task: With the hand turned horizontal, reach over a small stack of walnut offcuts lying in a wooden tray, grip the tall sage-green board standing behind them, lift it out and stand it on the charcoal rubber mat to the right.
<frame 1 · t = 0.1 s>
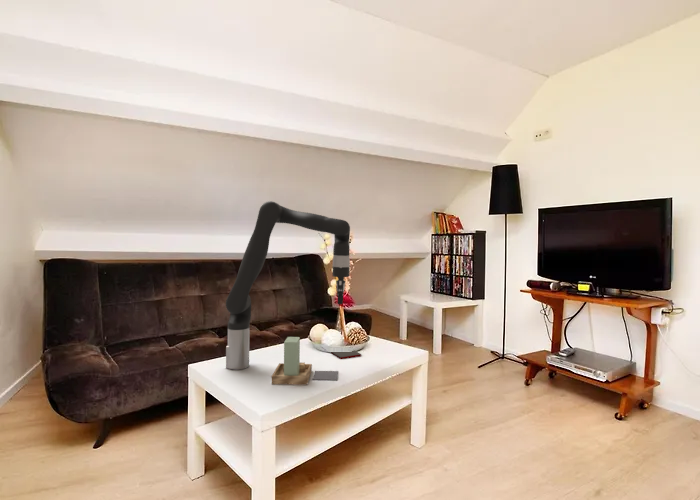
hand: (340, 302, 168), 29 cm above the table, tool pointing down, fingers open, 8 cm apart
offcut lower: (294, 370, 161), point 1 cm above the table, touching offcut upper, wooden tray
smartphone: (340, 352, 195), on the table
mat: (325, 375, 159), on the table
offcut upper: (296, 367, 161), point 3 cm above the table, touching offcut lower
wooden tray: (292, 377, 157), on the table
tall board: (291, 376, 155), point 1 cm above the table, touching wooden tray
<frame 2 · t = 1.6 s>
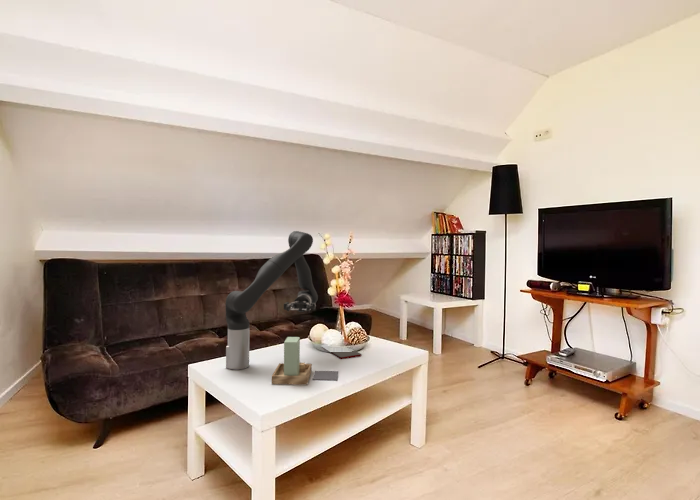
hand: (297, 309, 168), 26 cm above the table, tool horizontal, fingers open, 8 cm apart
nothing on the table moved.
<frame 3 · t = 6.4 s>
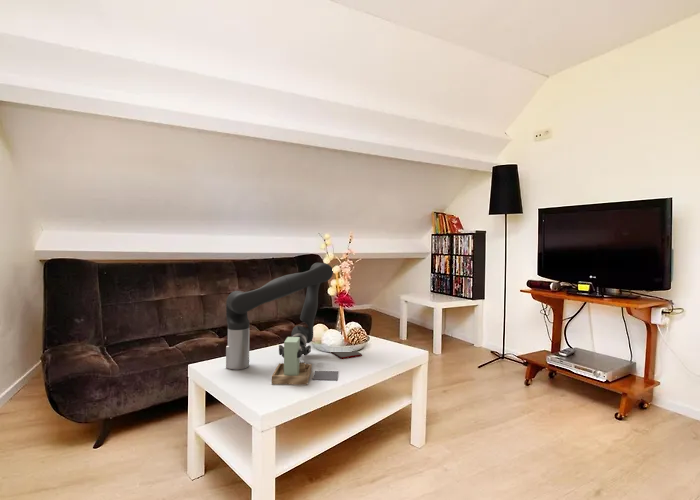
hand: (291, 355, 152), 10 cm above the table, tool horizontal, fingers closed on tall board, 5 cm apart
tall board: (291, 376, 155), point 1 cm above the table, touching gripper, wooden tray
everything else where it was.
when the fingers open (11 cm above the table, at t = 10.9 s): tall board drops 1 cm, resting on mat.
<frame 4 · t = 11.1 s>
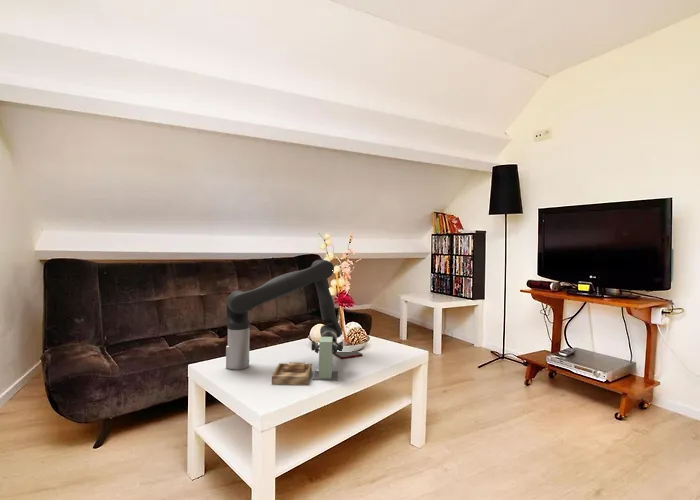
hand: (325, 351, 156), 11 cm above the table, tool horizontal, fingers open, 6 cm apart
tall board: (325, 374, 159), resting on mat
everything else where it was.
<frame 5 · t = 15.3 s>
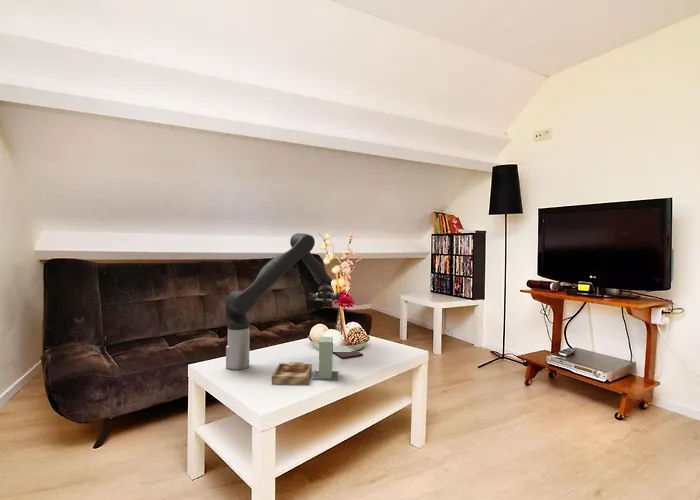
hand: (323, 298, 172), 30 cm above the table, tool horizontal, fingers open, 8 cm apart
nothing on the table moved.
at the end: tall board inside the target area (0.1 cm from its centre), resting on mat; tall board tilted 0°; the gripper is holding nothing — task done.
